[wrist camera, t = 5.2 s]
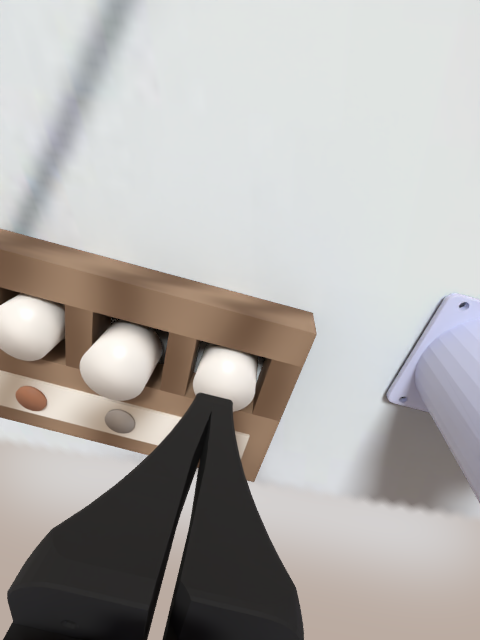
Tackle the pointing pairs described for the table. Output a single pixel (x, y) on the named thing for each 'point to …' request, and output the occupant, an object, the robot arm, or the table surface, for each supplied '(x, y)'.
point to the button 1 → (31, 326)
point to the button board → (167, 379)
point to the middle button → (121, 360)
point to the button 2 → (227, 375)
